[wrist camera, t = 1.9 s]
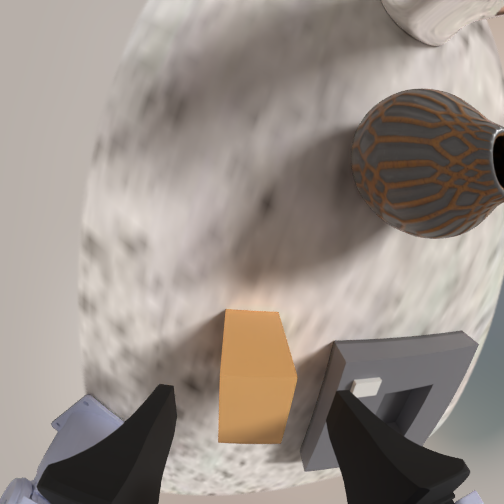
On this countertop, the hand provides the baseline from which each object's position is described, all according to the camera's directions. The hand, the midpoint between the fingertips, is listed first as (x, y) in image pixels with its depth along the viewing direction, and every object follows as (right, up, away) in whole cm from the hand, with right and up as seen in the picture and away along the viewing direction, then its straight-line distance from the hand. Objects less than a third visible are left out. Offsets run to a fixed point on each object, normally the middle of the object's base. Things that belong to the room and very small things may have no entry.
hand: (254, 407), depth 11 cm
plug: (0, +1, +5) cm, 6 cm away
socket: (+10, -5, +7) cm, 14 cm away
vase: (+8, +12, +3) cm, 14 cm away
